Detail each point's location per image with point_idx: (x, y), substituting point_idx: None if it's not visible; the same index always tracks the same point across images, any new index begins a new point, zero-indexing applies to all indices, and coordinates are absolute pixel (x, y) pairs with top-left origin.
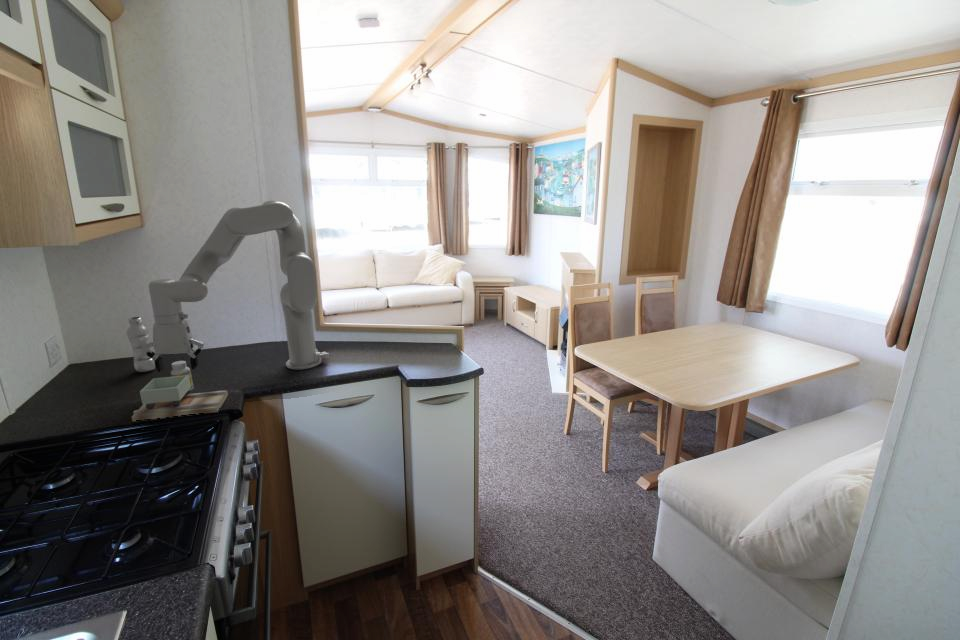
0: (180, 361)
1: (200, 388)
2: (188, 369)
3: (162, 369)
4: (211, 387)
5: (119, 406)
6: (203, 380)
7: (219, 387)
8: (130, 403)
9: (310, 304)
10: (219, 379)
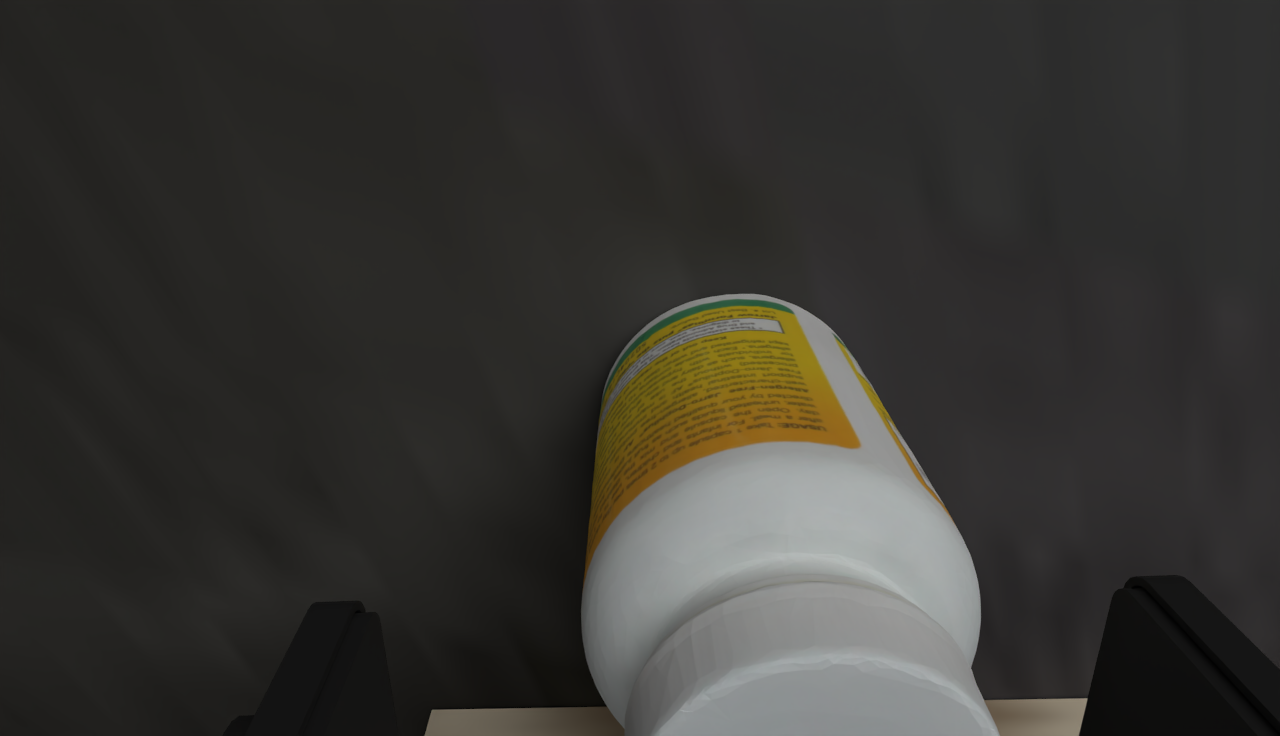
0: (840, 712)
1: (959, 410)
2: (972, 660)
3: (387, 687)
4: (1118, 412)
5: (98, 716)
6: (954, 53)
7: (1233, 439)
8: (181, 669)
9: None
10: (1238, 80)
